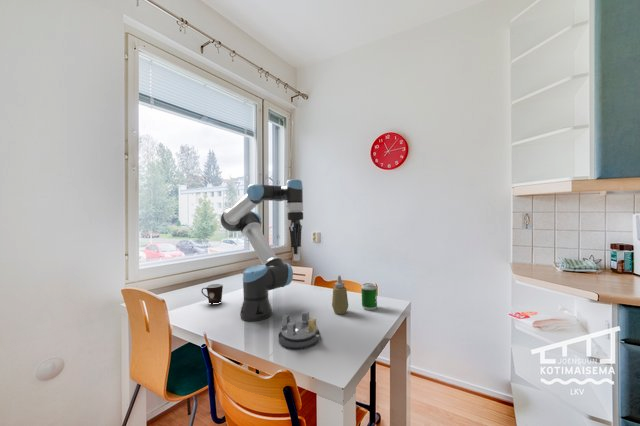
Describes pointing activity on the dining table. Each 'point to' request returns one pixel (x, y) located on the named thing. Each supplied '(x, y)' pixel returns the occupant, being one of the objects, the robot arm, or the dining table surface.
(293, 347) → the mounting flange
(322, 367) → the dining table surface
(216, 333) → the dining table surface
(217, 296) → the coffee mug
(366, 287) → the soda can
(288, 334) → the four-lug metal disc
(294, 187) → the robot arm
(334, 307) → the squeeze bottle
